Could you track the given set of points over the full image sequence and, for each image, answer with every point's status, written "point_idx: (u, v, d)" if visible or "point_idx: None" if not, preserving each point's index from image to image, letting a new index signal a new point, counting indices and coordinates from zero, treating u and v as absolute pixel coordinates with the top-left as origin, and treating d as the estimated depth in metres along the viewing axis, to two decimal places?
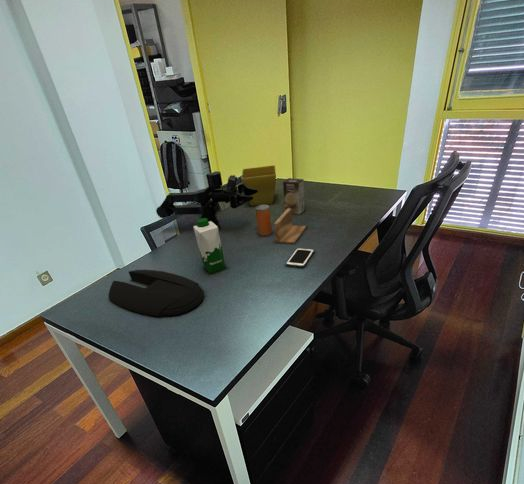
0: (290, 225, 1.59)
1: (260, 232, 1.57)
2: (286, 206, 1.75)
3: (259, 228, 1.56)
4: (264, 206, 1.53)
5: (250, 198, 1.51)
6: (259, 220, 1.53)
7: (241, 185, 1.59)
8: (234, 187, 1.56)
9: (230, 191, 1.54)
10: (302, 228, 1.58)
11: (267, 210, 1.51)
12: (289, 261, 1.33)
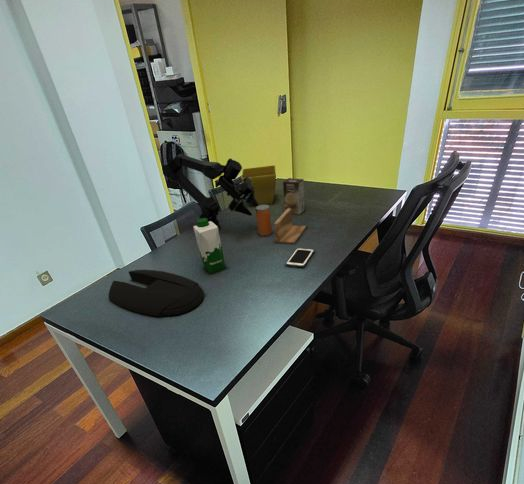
0: (290, 225, 1.59)
1: (260, 232, 1.57)
2: (286, 206, 1.75)
3: (259, 228, 1.56)
4: (264, 206, 1.53)
5: (248, 213, 1.51)
6: (259, 220, 1.53)
7: (250, 190, 1.55)
8: (243, 189, 1.51)
9: (237, 191, 1.49)
10: (302, 228, 1.58)
11: (267, 210, 1.51)
12: (289, 261, 1.33)
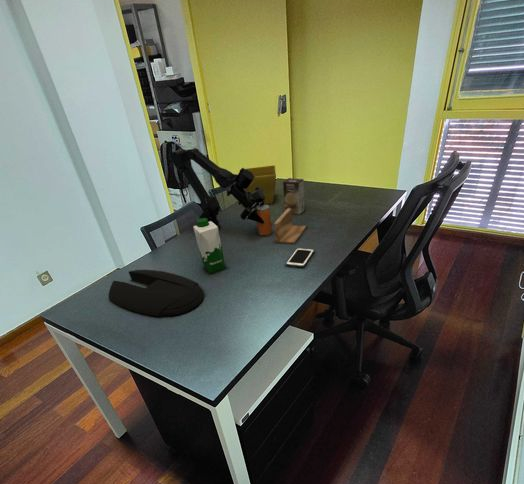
0: (290, 225, 1.59)
1: (260, 232, 1.57)
2: (286, 206, 1.75)
3: (259, 228, 1.56)
4: (264, 206, 1.53)
5: (261, 221, 1.53)
6: None
7: (261, 199, 1.56)
8: None
9: (249, 201, 1.49)
10: (302, 228, 1.58)
11: (267, 210, 1.51)
12: (289, 261, 1.33)
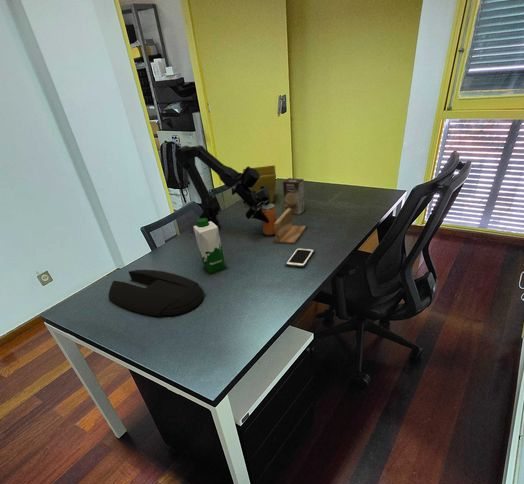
0: (290, 225, 1.59)
1: (265, 231, 1.56)
2: (286, 206, 1.75)
3: (264, 227, 1.55)
4: (269, 205, 1.51)
5: (266, 220, 1.51)
6: None
7: (266, 198, 1.55)
8: None
9: (254, 199, 1.48)
10: (302, 228, 1.58)
11: (272, 209, 1.50)
12: (289, 261, 1.33)
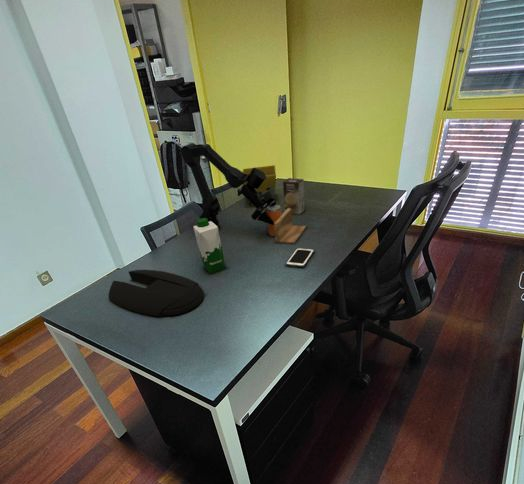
0: (290, 225, 1.59)
1: (271, 233, 1.55)
2: (286, 206, 1.75)
3: (270, 229, 1.54)
4: (275, 206, 1.51)
5: (271, 223, 1.50)
6: None
7: (272, 199, 1.54)
8: None
9: (261, 201, 1.47)
10: (302, 228, 1.58)
11: (278, 210, 1.49)
12: (289, 261, 1.33)
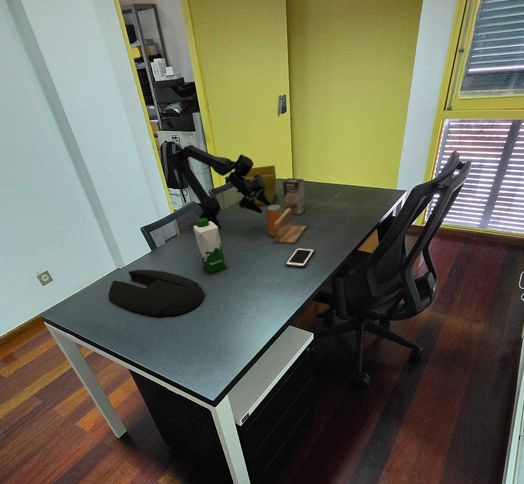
0: (290, 225, 1.59)
1: (271, 233, 1.55)
2: (286, 206, 1.75)
3: (270, 229, 1.54)
4: (275, 206, 1.51)
5: (259, 211, 1.48)
6: (270, 220, 1.51)
7: (261, 187, 1.52)
8: None
9: (248, 188, 1.46)
10: (302, 228, 1.58)
11: (278, 210, 1.49)
12: (289, 261, 1.33)
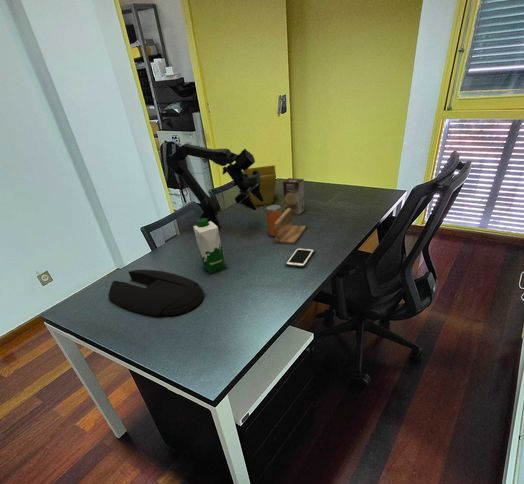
0: (290, 225, 1.59)
1: (271, 233, 1.55)
2: (286, 206, 1.75)
3: (270, 229, 1.54)
4: (275, 206, 1.51)
5: (253, 208, 1.53)
6: (270, 220, 1.51)
7: None
8: None
9: (245, 184, 1.48)
10: (302, 228, 1.58)
11: (278, 210, 1.49)
12: (289, 261, 1.33)
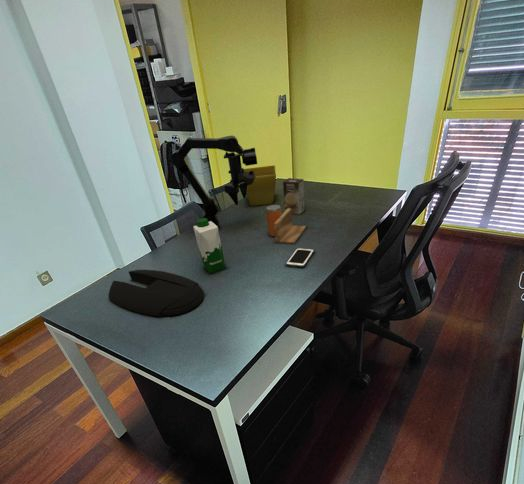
0: (290, 225, 1.59)
1: (271, 233, 1.55)
2: (286, 206, 1.75)
3: (270, 229, 1.54)
4: (275, 206, 1.51)
5: (235, 202, 1.60)
6: (270, 220, 1.51)
7: None
8: None
9: (239, 179, 1.54)
10: (302, 228, 1.58)
11: (278, 210, 1.49)
12: (289, 261, 1.33)
